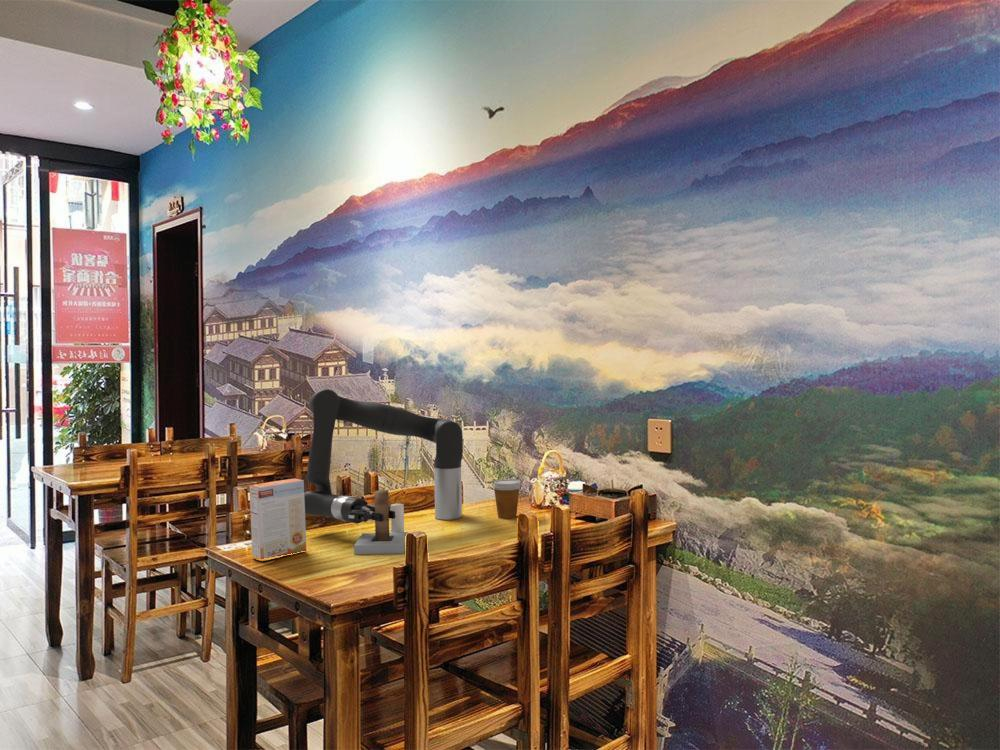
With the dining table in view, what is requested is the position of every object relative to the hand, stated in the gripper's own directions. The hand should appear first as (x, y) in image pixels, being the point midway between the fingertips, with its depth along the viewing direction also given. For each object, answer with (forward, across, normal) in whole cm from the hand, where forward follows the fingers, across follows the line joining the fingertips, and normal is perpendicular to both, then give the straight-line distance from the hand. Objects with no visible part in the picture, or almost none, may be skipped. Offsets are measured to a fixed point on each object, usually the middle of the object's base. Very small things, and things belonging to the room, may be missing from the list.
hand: (388, 516), depth 212 cm
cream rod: (-7, +10, +9) cm, 16 cm away
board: (-3, 0, +9) cm, 10 cm away
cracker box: (-20, -23, +10) cm, 32 cm away
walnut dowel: (-3, 0, +9) cm, 9 cm away
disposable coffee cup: (+3, +51, +10) cm, 52 cm away
